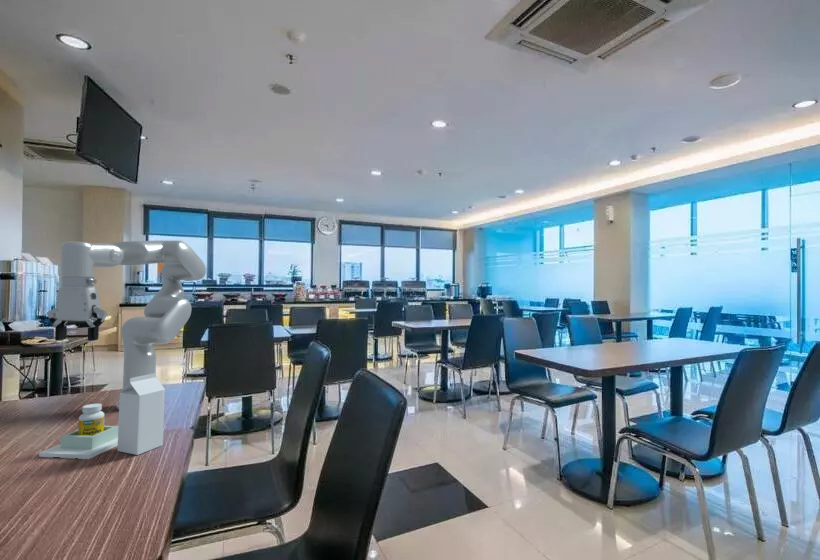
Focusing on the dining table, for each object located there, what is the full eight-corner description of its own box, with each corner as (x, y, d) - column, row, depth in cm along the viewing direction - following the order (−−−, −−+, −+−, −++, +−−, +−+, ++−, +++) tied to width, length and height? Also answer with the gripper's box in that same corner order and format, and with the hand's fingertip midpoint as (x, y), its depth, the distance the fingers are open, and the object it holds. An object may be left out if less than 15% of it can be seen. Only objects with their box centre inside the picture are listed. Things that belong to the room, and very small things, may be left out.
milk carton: (163, 445, 106) (165, 374, 106) (136, 455, 99) (140, 379, 99) (143, 442, 108) (146, 372, 108) (117, 451, 101) (120, 377, 102)
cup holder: (91, 435, 112) (92, 420, 112) (135, 436, 111) (135, 422, 112) (39, 456, 97) (39, 440, 97) (88, 459, 96) (89, 442, 97)
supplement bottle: (101, 436, 108) (103, 401, 109) (105, 442, 105) (106, 405, 105) (76, 441, 105) (78, 405, 105) (78, 447, 101) (80, 409, 101)
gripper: (115, 283, 122) (115, 338, 122) (60, 282, 122) (59, 337, 122) (96, 283, 114) (95, 342, 114) (37, 282, 115) (36, 341, 115)
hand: (77, 340), depth 118 cm, fingers open, 9 cm apart
